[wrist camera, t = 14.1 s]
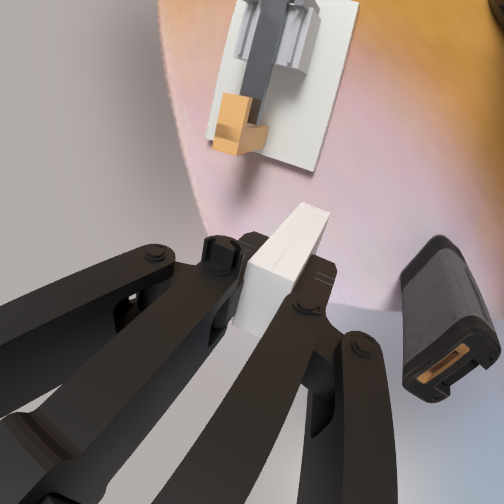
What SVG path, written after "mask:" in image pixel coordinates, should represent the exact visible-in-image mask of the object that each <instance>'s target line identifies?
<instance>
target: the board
mask: <svg viewBox="0 0 504 504" xmlns="http://www.w3.org/2000/svg"><path fill="white" fill-rule="evenodd" d="M262 4H263V0H237V3H236V6H235V10H234V14H233V17H232V21H231V25H230V29H229V33H228V37H227V41H226V45H225V49H224V53H223V57H222V61H221V66H220V70H219V75H218V79H217V84H216V88H215V93H214V98H213V103H212V108H211V113H210V118H209V123H208V128H207V133H206V139H209V140H213V141H214V135H215V130H216V125H217V120H218V115H219V110H220V105H221V101H222V96H223V92H224V93H231V94H236V95H239V94H240V90H241V86H242V81H243V77H244V73H245V69H246V65H247V61H248V57H249V53H250V49H251V45H252V41H253V37H254V33H255V29H256V26H257V22H258V18H259V14H260V11H261V7H262ZM358 11H359V3H358V2H354V1H350V0H295V1H294V4H292V3H290V5H289V9H288V12H287V16H286V20H285V23H284V27H283V31H282V35H281V39H280V42H279V46H278V50H277V54H276V58H275V62H274V66H273V70H272V74H271V78H270V82H269V86H268V90H267V94H266V98H265V102H264V106H263V110H262V114H261V118H260V122H259V124H262V125H265V126H269V129H268V133H267V137H266V141H265V145H264V148H262V149H258V150H255V151H251V152H255V153H258V154H261V155H264V156H267V157H271V158H274V159H277V160H280V161H283V162H286V163H289V164H292V165H295V166H298V167H301V168H303V169H306V170H309V171H312V172H314V171H315V169H316V165H317V162H318V159H319V155H320V152H321V149H322V145H323V142H324V138H325V135H326V132H327V128H328V125H329V121H330V118H331V114H332V111H333V107H334V103H335V100H336V96H337V93H338V89H339V85H340V82H341V78H342V74H343V70H344V67H345V63H346V59H347V55H348V51H349V47H350V43H351V39H352V35H353V31H354V27H355V23H356V19H357V15H358Z"/></svg>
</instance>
